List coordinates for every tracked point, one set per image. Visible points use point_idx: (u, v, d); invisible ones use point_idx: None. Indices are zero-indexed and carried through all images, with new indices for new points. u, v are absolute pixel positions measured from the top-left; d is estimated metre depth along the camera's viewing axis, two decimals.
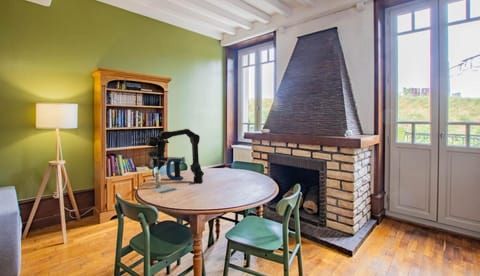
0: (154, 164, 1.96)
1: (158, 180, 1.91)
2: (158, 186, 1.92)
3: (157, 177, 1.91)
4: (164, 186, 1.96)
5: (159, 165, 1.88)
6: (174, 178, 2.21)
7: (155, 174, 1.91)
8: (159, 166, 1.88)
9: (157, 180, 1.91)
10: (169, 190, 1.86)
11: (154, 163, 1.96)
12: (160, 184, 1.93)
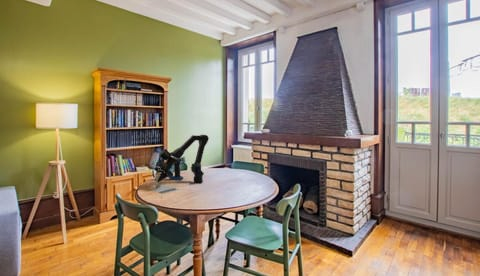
0: None
1: None
2: (158, 186, 1.92)
3: (157, 177, 1.91)
4: (164, 186, 1.96)
5: (161, 177, 1.91)
6: (174, 178, 2.21)
7: (155, 174, 1.91)
8: (160, 178, 1.91)
9: (157, 180, 1.91)
10: (169, 190, 1.86)
11: None
12: (160, 184, 1.93)
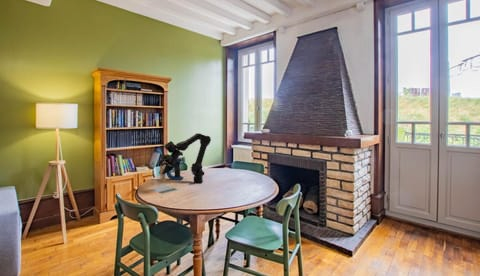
0: None
1: None
2: (163, 179, 1.87)
3: (162, 170, 1.86)
4: (164, 186, 1.96)
5: (165, 170, 1.87)
6: (174, 178, 2.21)
7: (160, 167, 1.87)
8: (165, 171, 1.87)
9: None
10: (169, 190, 1.86)
11: None
12: None
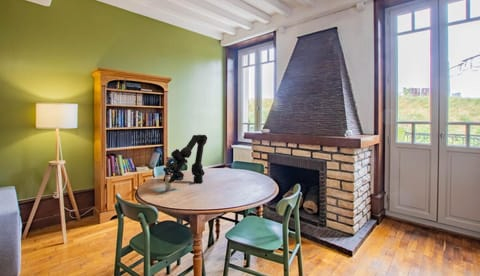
0: None
1: (168, 183, 1.83)
2: (168, 189, 1.84)
3: (167, 180, 1.83)
4: (164, 186, 1.96)
5: (172, 179, 1.82)
6: None
7: (165, 176, 1.83)
8: (171, 180, 1.82)
9: (167, 183, 1.83)
10: None
11: None
12: (170, 187, 1.85)
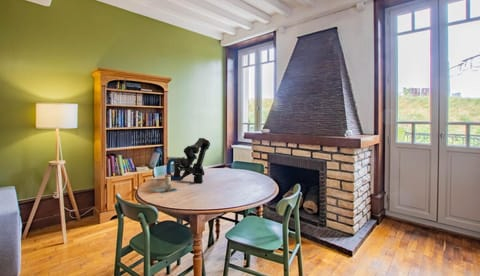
0: (175, 173, 1.95)
1: (168, 183, 1.83)
2: (168, 189, 1.84)
3: (167, 180, 1.83)
4: (164, 186, 1.96)
5: (184, 174, 1.88)
6: (174, 178, 2.21)
7: (165, 176, 1.83)
8: (184, 175, 1.88)
9: (167, 183, 1.83)
10: None
11: (175, 172, 1.95)
12: (170, 187, 1.85)
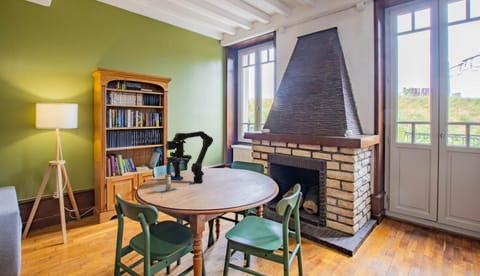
0: (184, 164, 2.07)
1: (168, 183, 1.83)
2: (168, 189, 1.84)
3: (167, 180, 1.83)
4: (164, 186, 1.96)
5: (173, 165, 2.00)
6: (174, 178, 2.21)
7: (165, 176, 1.83)
8: (173, 166, 2.00)
9: (167, 183, 1.83)
10: None
11: (184, 163, 2.07)
12: (170, 187, 1.85)
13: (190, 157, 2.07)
